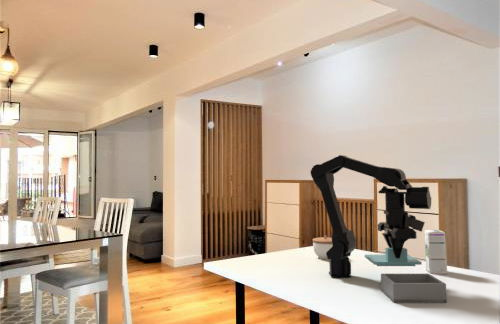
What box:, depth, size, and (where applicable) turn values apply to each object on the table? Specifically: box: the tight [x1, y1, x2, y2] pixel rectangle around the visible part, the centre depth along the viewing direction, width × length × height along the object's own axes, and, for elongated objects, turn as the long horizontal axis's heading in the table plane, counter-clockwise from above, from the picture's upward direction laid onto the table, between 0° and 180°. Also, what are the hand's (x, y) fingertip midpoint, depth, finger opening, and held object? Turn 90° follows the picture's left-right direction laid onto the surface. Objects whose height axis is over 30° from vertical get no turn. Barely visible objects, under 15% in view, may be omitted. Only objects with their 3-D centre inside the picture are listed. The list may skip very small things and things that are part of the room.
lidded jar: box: [312, 234, 333, 260], centre depth 162 cm, size 11×11×9 cm
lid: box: [364, 247, 422, 267], centre depth 125 cm, size 15×12×6 cm
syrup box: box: [424, 229, 448, 275], centre depth 135 cm, size 6×6×14 cm
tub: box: [380, 273, 448, 304], centre depth 108 cm, size 14×11×5 cm
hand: (396, 257), depth 120 cm, fingers closed on lid, 2 cm apart
